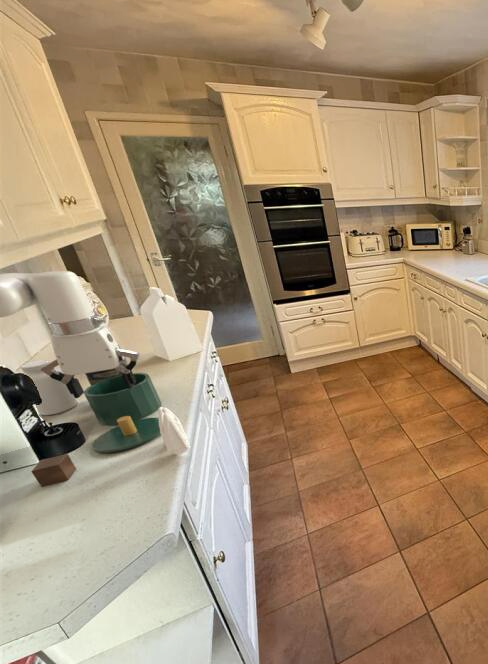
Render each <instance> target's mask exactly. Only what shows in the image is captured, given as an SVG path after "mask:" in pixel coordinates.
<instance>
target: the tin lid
mask: <svg viewBox="0 0 488 664" xmlns="http://www.w3.org/2000/svg"><path fill="white" fill-rule="evenodd" d="M117 422H118V424H119V425H116V426H115V427H112V428H110V429H108V430H107V431H105V432H104V433H102V434H101V435H99V436H98V437H96V439H95V440H94V441H93V442H92V445H91V448H92V449H93V451H95V452H97V453H114V452H121V451H125V450H128V449H132V448H135V447H136V446H140V445H142V444H144V443H147V442H149V441H150V440H153V439H154V438H156V437H158V436H159V435H161V433H160V427H159V419H158V417H144V418H141V419H139V420H135V421H132V419H131V417H130V416H124V417H121V418H119V419H118V420H117Z"/></svg>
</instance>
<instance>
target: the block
mask: <svg viewBox="0 0 488 664" xmlns="http://www.w3.org/2000/svg"><path fill="white" fill-rule="evenodd" d="M76 470H77V467H76V466H75V463H74V462H73V460H72V459H71V457H70V456H69V454H68V453H65V454H61V455H56V456H52V457H47V458H43V459H41V460H40V461H38V463H36V465H35V466H34V468H33V469H32V470H31V473H32V476H34V478H35V479H36V481H37V482H38V484H39V485H40V487H41V488H44V487H47V486H50V485H54V484H58V483H59V484H60V483H62V482H67V481H69V480H70V479H71V477H72V475H74V473H75V472H76Z"/></svg>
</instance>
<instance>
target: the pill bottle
mask: <svg viewBox="0 0 488 664" xmlns="http://www.w3.org/2000/svg"><path fill="white" fill-rule="evenodd" d="M49 363H50V361H49V360H47V359H40V360H34V361H31V362H27V363H24V364H22V365H21V366H20V369H21V371H22V372H23V374H24V375H27V376H29V377H30V378H31V379H32V380H33V382H34V384H35V386H36V387H37V390H38V391H39V393H40V395H41V397H42V404H40V405H36V407H35V409H36V408H37V409H36V411H37V410H38V411H37V412H38V413H39V414H40V415H42V416H50V415H57V414H60V413H63V412H66V411H69V410H72V409H73V408H75V407H76V406H77V405H78V401H77V398H75V397H74V395H73V394H70V392H69V390H68V388H67V386H66V384H62V383H61V382H60V381H58V380H55V379H52V378H51V377H50V376H49V375H47V374H45V373H44V372H42V371H41V368H42V367H44V366H45V365H47V364H49ZM54 369H55V370H56V371H57V372H61V373H63V371H62V370H61V369H59V368H57V367H55V368H54Z"/></svg>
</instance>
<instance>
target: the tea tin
mask: <svg viewBox="0 0 488 664" xmlns="http://www.w3.org/2000/svg"><path fill="white" fill-rule="evenodd" d="M133 375H134V377H135V379H136V383H135V384H134V386H133V387H132V388H131V389H128V388H127V387H126V384H125V382H124V380H123V378H122V375H120V376H116V377H112V378H109V379H106V380H103V381H100V382H98V383H95V384H93V385H92V386H91V385H90V386H88V387H87V388H86V389H84V390H83V391H84V393H83V395H84V396H85V399H86V401H87V403H88V404H89V406H90V408H91V410H92V412H93V413H94V415H95V417H96V419H97V421H98V423H99V424H100V425H101V426H107V427H112V426H119V424H118V422H117V420H118V419H119V418H121V417H124V416H130V417H131V419H132V421H135V420H139V419H145V418H147V417H148V416H150V415H152V414H153V413H155V412H158V408H159V407H162V400H161V399H160V397H159V394H158V392H157V390H156V387H155V385H154V383H153V381H152V379H151V376H150V375H149V374H148V373H145V372H133Z"/></svg>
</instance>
